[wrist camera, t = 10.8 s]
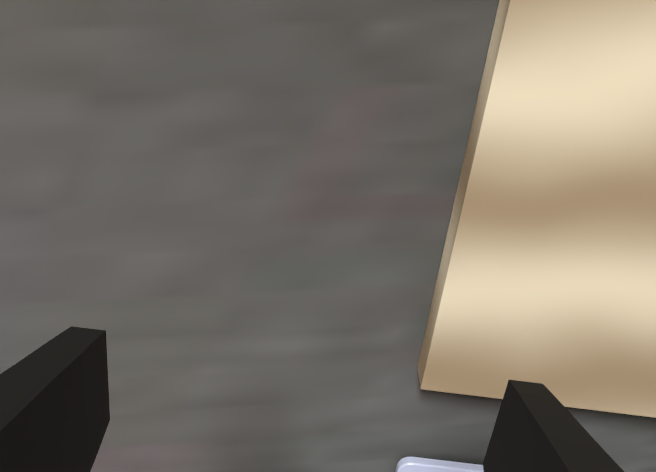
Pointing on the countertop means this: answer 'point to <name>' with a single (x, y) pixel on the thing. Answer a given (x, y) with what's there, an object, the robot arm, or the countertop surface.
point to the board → (555, 214)
